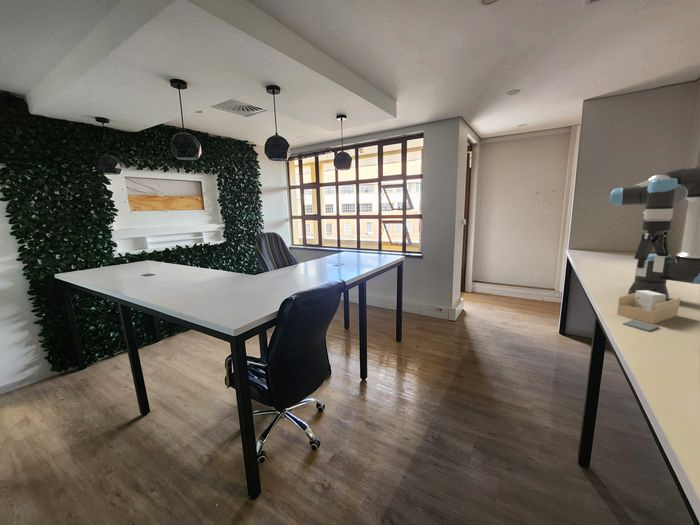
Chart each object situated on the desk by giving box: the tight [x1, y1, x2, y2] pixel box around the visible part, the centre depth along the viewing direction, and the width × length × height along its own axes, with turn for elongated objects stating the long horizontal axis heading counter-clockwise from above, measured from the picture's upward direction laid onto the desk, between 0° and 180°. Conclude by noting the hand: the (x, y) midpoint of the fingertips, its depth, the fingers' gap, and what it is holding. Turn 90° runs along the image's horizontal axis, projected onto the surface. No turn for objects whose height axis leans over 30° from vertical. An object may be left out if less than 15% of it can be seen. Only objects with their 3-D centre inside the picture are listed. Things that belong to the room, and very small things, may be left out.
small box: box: [634, 290, 666, 312], centre depth 127 cm, size 8×6×10 cm
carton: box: [616, 293, 681, 325], centre depth 127 cm, size 21×12×8 cm, turn 114°
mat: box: [622, 319, 660, 333], centre depth 116 cm, size 8×8×1 cm
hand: (649, 274), depth 115 cm, fingers open, 13 cm apart
